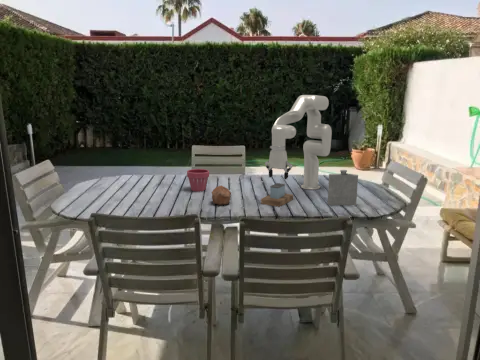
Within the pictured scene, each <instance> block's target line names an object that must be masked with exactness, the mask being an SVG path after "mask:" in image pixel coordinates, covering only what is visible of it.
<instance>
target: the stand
mask: <svg viewBox="0 0 480 360" xmlns="http://www.w3.org/2000/svg"><path fill="white" fill-rule="evenodd" d="M293 200H294V194H292V193H286V192H285V196H283V197H281V198H279V199H275V198H270V194H268V195H266V196H263V197H261V198H260V204H261V205H267V206H272V207H277V206H278V207H279V208H280V206H281V207H282V206H284V205H286V204H288V203H289V202H291V201H293Z"/></svg>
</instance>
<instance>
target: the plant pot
mask: <svg viewBox="0 0 480 360" xmlns="http://www.w3.org/2000/svg"><path fill="white" fill-rule="evenodd" d="M186 177H187V178H188V182H189V187H190V189H191V191H192V192H200V191H201V192H204V190H205V191H206V189H207V183H208V179H209V177H210V171H209V169H205V168H193V169H188V170H187V171H186Z"/></svg>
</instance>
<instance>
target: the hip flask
mask: <svg viewBox="0 0 480 360" xmlns="http://www.w3.org/2000/svg"><path fill="white" fill-rule="evenodd" d="M339 172H340V173H329V174H328V188H327V189H328V191H327V206H350V205H356V206H357V197H358V184H359V183H358V182H359V175H358V174H356V173H355V174H354V173H347V172H348V170H347V169H340V171H339Z"/></svg>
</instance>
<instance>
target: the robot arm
mask: <svg viewBox="0 0 480 360" xmlns="http://www.w3.org/2000/svg"><path fill="white" fill-rule="evenodd" d="M329 102H330V101H329V99H328V97H327V96H324V95H316V94H302V95H299V96H298V97H297V98H296V100H295V101H294V103H293V105H292V107H291V108H290V110H289V111H287V112H285V113H283V114H282V115H280V116H279V117H278V118H277V119H276V120H275V122H274V124H272V125H273V126H272V127H271V145H270V146H269V149H271V150H270V152H269V159H268V160H266V161H265V162H264V165H265V167H266V169H267V171H268V178H272V177H273V176H274V175H273V170H274V169H276V170H283V171H284V173H283V175H284V176H283V177H284V178H283V179H284V180H287V179H288V178H289V171H291V170H292V168H293V164H292V163H290V162H289V160H288V155H287V154H288V153H287V150H286V140H287V139H293V138H294V137H295V136H296V134H297V129H296V127H295V126H293V125H290V124H293V123H296V122H299V121H300V120H302V119H303V117H304V116H305V113H306V115H307V125H306V126H307V127H306V135H307V137H308V138H309V140H308V139H307V140H306V141H304V142H303V145H302V146H303V148H302V149H303V156H304V159H303V184H301V185H300V188H301V189H304V190H311V191H312V190H313V191H314V190H315V191H316V190H319V189H320V188H321V186H320V185H319V182H320V180H319V167H320V166H319V165H320V161H319V158H318V157H327V156H329V155H330V152H331V148H332V146H331V144H332V132H333V131H332V127H331V125H329V124H328V123H327V124H325V123H322V114H321V112H320V111H326V110H327V109H328V107H329V104H330V103H329ZM310 138H311V139H310ZM312 139H313V140H312ZM314 139H318V140H314ZM317 156H318V157H317Z"/></svg>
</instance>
